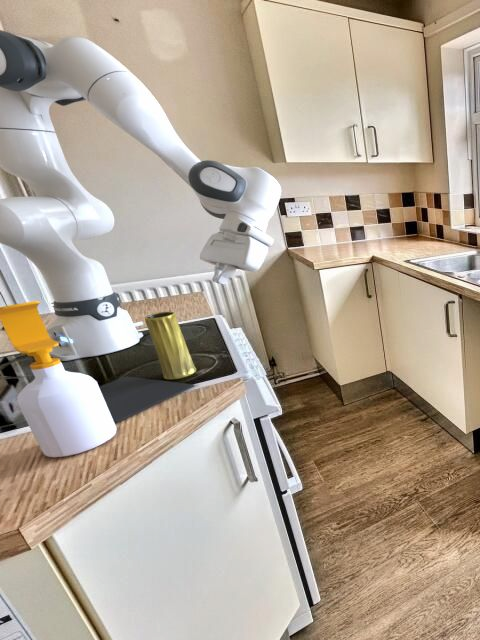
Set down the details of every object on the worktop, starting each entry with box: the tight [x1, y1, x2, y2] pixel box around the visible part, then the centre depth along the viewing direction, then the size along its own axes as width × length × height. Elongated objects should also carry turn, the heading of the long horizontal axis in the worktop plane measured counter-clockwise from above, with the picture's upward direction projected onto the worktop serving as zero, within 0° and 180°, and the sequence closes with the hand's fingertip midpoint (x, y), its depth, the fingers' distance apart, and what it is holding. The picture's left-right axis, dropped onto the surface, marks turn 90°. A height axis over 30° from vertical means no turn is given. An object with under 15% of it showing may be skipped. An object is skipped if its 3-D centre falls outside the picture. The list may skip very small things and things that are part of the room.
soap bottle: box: [0, 300, 117, 458], centre depth 67 cm, size 9×9×25 cm
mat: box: [98, 375, 195, 424], centre depth 86 cm, size 20×15×1 cm
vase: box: [144, 311, 197, 381], centre depth 94 cm, size 6×6×14 cm
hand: (218, 283), depth 101 cm, fingers closed
